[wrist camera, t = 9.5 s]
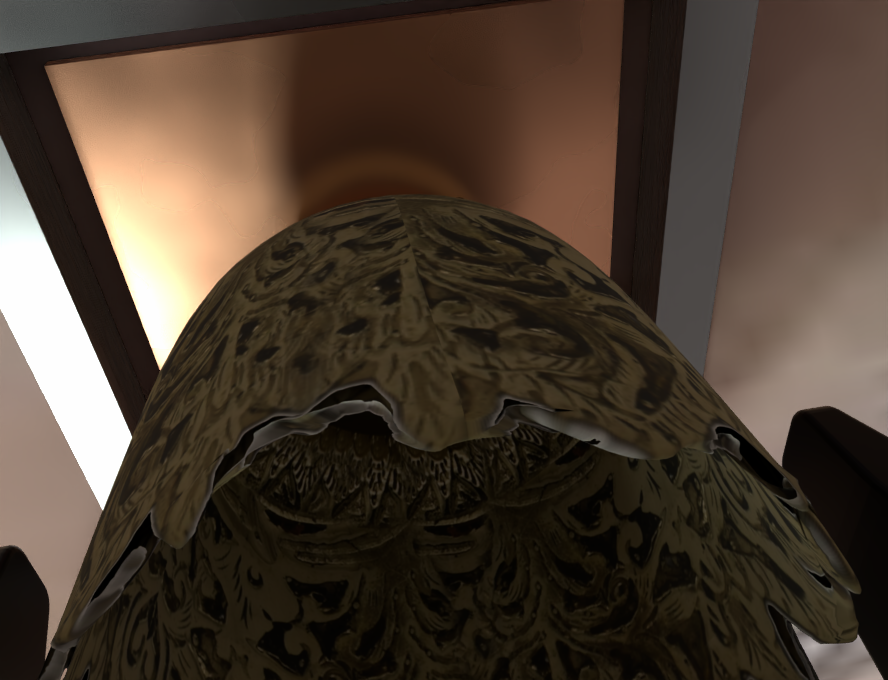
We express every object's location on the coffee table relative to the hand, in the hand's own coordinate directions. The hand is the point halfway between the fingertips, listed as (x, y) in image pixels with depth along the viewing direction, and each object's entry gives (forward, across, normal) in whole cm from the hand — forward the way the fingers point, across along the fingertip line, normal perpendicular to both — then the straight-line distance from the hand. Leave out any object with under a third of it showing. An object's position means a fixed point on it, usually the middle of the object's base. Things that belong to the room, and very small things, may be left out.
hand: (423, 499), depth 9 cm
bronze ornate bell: (+5, 0, 0) cm, 5 cm away
